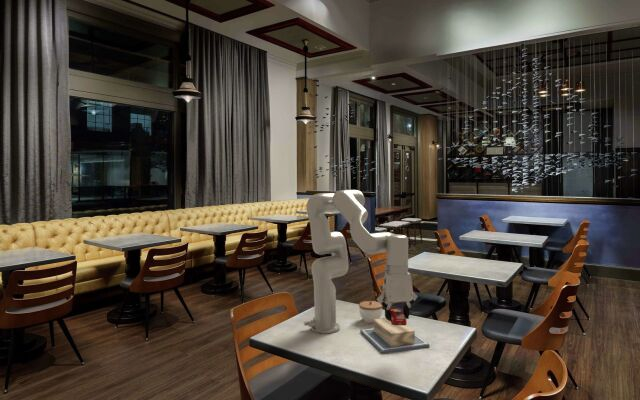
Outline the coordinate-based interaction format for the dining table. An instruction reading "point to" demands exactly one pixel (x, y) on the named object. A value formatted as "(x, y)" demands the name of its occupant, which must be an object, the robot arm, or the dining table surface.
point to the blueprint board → (384, 345)
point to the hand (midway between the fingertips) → (397, 318)
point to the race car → (398, 317)
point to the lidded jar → (370, 310)
